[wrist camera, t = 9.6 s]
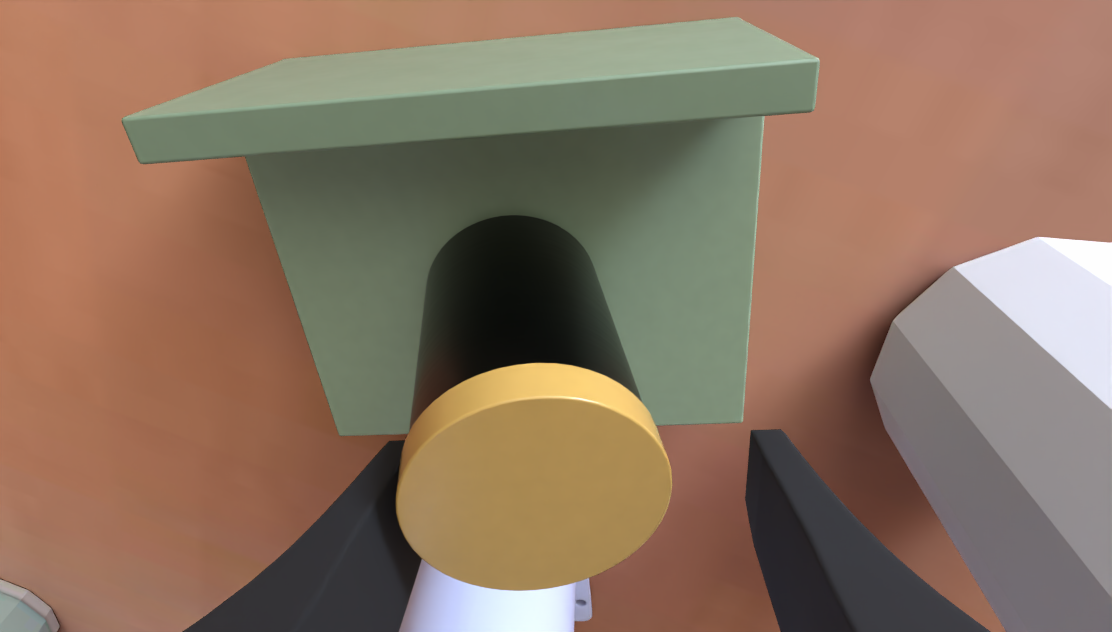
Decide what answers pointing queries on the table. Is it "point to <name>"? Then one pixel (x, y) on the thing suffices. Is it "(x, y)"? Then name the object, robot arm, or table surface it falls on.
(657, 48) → the shelf
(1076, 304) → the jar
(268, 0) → the table surface
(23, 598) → the disposable coffee cup
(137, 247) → the table surface
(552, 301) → the canister
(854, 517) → the robot arm
